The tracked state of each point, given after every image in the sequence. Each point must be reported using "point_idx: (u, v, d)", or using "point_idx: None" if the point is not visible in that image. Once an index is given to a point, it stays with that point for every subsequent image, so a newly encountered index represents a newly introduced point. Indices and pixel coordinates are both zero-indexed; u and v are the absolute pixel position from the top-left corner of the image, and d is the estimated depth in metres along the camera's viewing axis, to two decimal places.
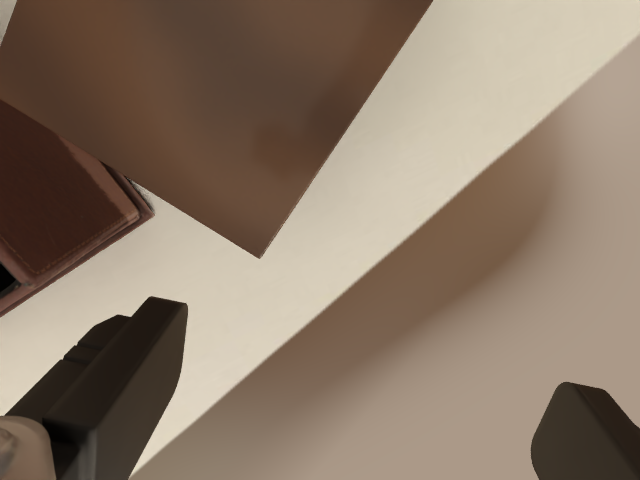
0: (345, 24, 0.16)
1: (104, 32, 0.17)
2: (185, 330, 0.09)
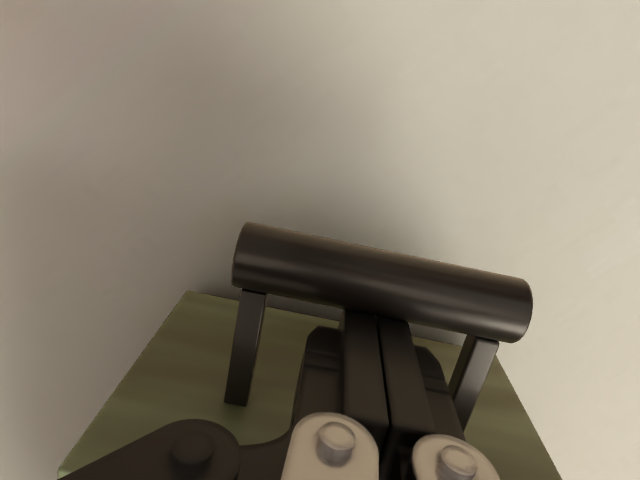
0: None
1: None
2: None
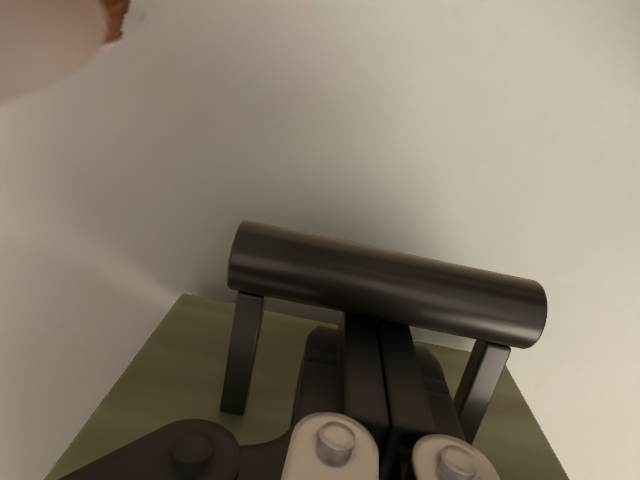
0: None
1: None
2: None
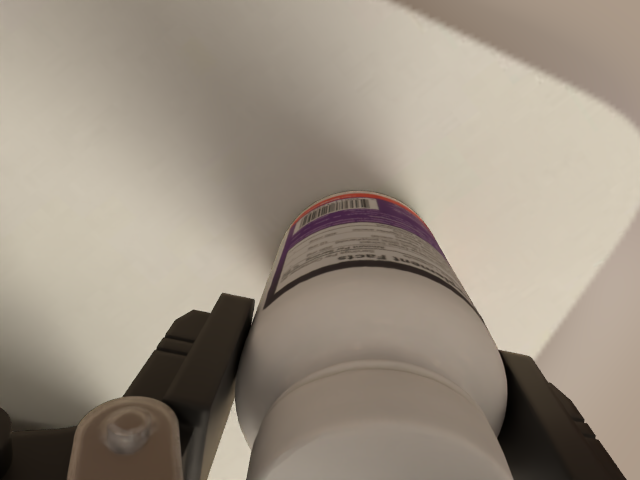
0: None
1: None
2: (250, 324, 0.10)
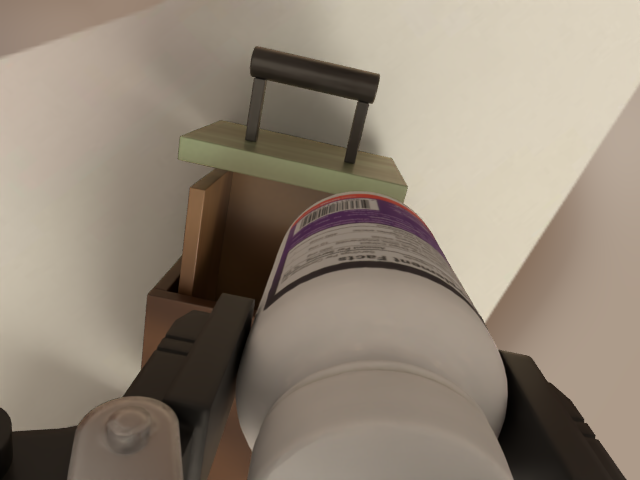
0: None
1: None
2: None
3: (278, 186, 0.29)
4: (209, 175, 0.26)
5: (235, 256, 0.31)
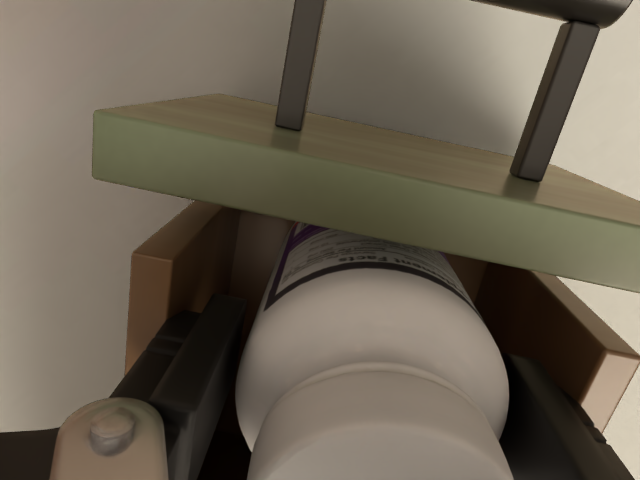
0: None
1: None
2: (243, 325, 0.10)
3: None
4: (191, 210, 0.11)
5: None
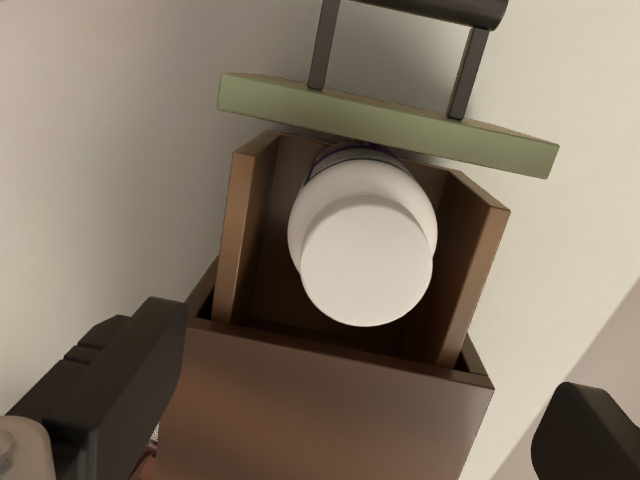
0: (406, 476, 0.19)
1: None
2: (185, 330, 0.09)
3: None
4: (254, 141, 0.18)
5: (279, 256, 0.24)
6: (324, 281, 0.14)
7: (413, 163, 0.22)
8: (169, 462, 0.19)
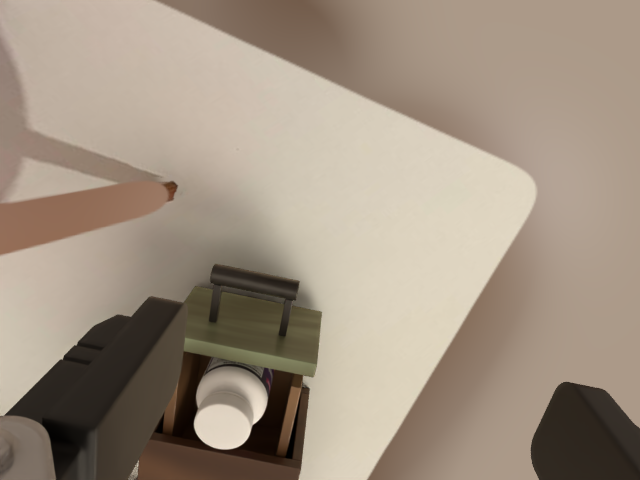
0: None
1: None
2: (185, 330, 0.09)
3: None
4: None
5: None
6: (204, 432, 0.31)
7: None
8: None
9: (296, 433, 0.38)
